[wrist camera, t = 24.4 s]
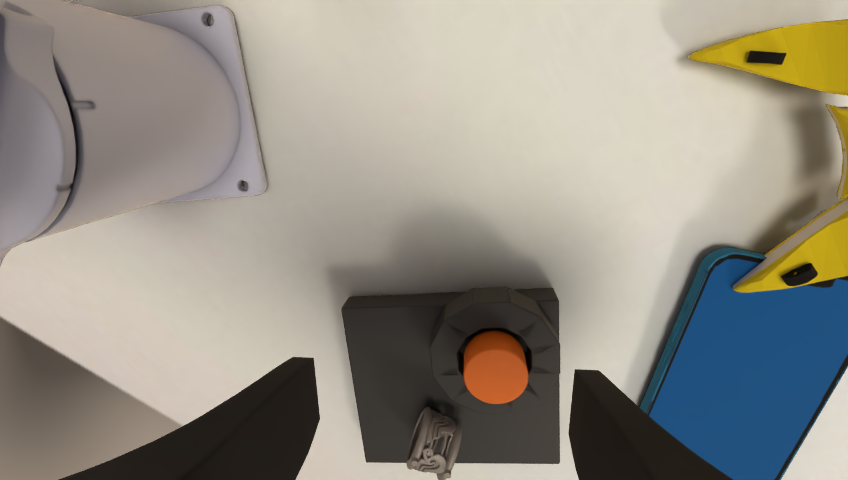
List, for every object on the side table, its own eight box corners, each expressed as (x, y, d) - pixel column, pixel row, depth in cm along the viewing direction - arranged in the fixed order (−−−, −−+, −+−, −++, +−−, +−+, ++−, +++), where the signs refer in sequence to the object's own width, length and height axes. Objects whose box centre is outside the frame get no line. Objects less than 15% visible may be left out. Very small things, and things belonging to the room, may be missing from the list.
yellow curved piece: (594, 193, 22) (794, 304, 20) (584, 214, 19) (818, 346, 17) (739, -24, 17) (1034, 92, 14) (755, -40, 14) (1127, 101, 12)
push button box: (371, 443, 24) (358, 488, 22) (346, 282, 22) (327, 309, 19) (555, 443, 23) (566, 491, 20) (553, 272, 20) (566, 299, 17)
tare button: (466, 382, 20) (465, 405, 18) (461, 330, 19) (461, 349, 17) (525, 381, 19) (529, 404, 18) (523, 329, 18) (527, 348, 17)
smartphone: (603, 509, 23) (715, 247, 18) (598, 494, 24) (704, 240, 19) (745, 542, 23) (898, 284, 18) (734, 525, 24) (878, 275, 19)
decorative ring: (444, 449, 22) (440, 499, 19) (409, 436, 22) (400, 485, 19) (464, 407, 21) (463, 453, 18) (428, 393, 21) (421, 437, 18)
